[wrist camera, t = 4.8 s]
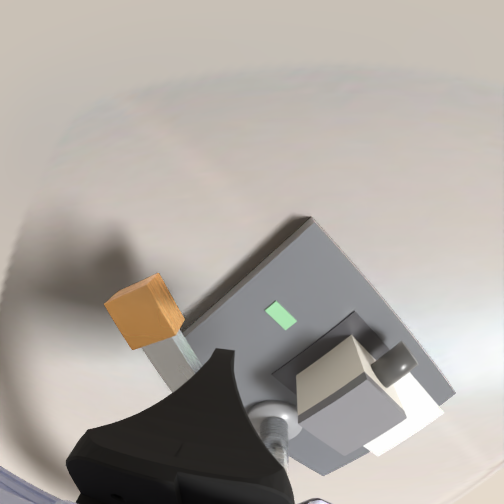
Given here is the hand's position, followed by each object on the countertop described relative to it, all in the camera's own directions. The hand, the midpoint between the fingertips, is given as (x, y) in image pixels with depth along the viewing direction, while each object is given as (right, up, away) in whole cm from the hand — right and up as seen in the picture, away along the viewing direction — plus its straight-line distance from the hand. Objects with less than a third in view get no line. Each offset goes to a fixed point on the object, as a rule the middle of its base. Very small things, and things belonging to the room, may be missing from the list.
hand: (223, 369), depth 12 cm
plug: (+6, -3, +6) cm, 9 cm away
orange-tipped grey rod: (0, -1, +5) cm, 5 cm away
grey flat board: (+5, -3, +8) cm, 10 cm away
